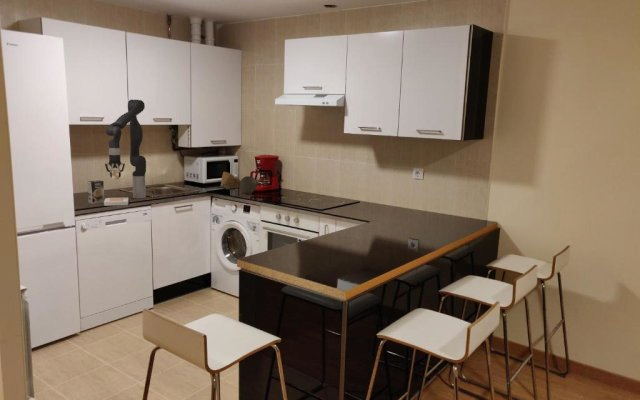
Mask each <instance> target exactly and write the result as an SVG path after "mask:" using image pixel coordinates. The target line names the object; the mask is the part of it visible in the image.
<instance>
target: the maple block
mask: <svg viewBox="0 0 640 400" xmlns="http://www.w3.org/2000/svg"><path fill="white" fill-rule="evenodd" d="M111 180H120V178H119V171H118V169H112V178H111Z"/></svg>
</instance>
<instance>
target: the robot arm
mask: <svg viewBox="0 0 640 400" xmlns="http://www.w3.org/2000/svg"><path fill="white" fill-rule="evenodd" d="M145 107H146V106H145V102H144V101H143V100H141V99H129V100H128V102H127V112H125V113H123V114H122V115H120V116H119V117H117V119H116V120H115V121H113V122H112V123H110V125H108V126H107V127H106V129H105V133H106V135H107V136H108V137H113V138H112V139H109V141H108V162H107V163H104V166H105V169H106V172H108V173H109V177H110V178H111V179H112V170H114V169H116V170H118V171H119V179H120V178H121V175H122V172H124V169H125V166H126V164H125V162H122V161H121V148H120V141H121V138H122V133H123V132H122V129H124V128H125V127H126V126H128V124H129V139H130V143H129V144H130V152H129V153H130V154H129V162H130V165H131V166H132V167H134V169H135V170H133V171H132V173H131V174H132V175H131V177H132V197H133V198H134V199H145V198H147V194H146V193H147V191H146V190H147V189H146V172H147V160H146V157H145V156H144V155H140V147H141V144H142V142H143V139H144V136H143V135H144V133H143V128H142V125H141V124H140V122H139V120H138V117H137V116H139V114H141V113H142V112H143V111H144V110H145ZM108 166H110V169H109V167H108ZM121 166H122V167H121ZM120 167H121V168H120Z"/></svg>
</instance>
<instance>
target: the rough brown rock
mask: <svg viewBox="0 0 640 400" xmlns="http://www.w3.org/2000/svg"><path fill="white" fill-rule="evenodd" d="M240 181H241V180H240V179H239V178H238V177H235V176H234V175H233V174H232V173H230V172H227V171H223V172H222V175H221V180H220V186H221V187H222V188H225V189H226V190H229V189H235V190H236V189H237V190H238V188H240Z"/></svg>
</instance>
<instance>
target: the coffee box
mask: <svg viewBox="0 0 640 400" xmlns="http://www.w3.org/2000/svg"><path fill="white" fill-rule="evenodd" d="M104 187H105V186H104V181H103V180H99V179H98V180H89V181H87V195H88V196H87V198H88V199H87V200H88V201H87V202H88V203H89V204H91V205H95V204H96V203H97V204H104V200H105V191H104V190H105V189H104Z"/></svg>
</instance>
